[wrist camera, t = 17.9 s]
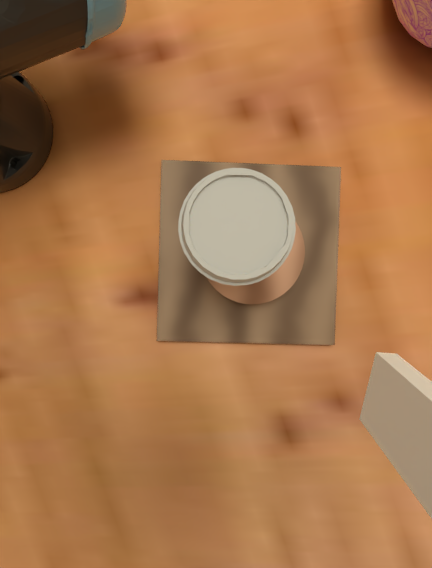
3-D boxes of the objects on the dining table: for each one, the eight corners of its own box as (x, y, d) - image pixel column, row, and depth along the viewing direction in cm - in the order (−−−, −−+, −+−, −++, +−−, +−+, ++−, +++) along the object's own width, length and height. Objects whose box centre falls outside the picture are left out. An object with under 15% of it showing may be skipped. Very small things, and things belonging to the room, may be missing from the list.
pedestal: (158, 339, 41) (152, 345, 37) (162, 162, 41) (158, 150, 37) (331, 343, 42) (344, 350, 38) (337, 169, 42) (351, 158, 38)
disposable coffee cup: (203, 295, 37) (202, 303, 25) (174, 216, 37) (159, 186, 25) (281, 266, 38) (317, 261, 26) (253, 187, 37) (275, 144, 25)
